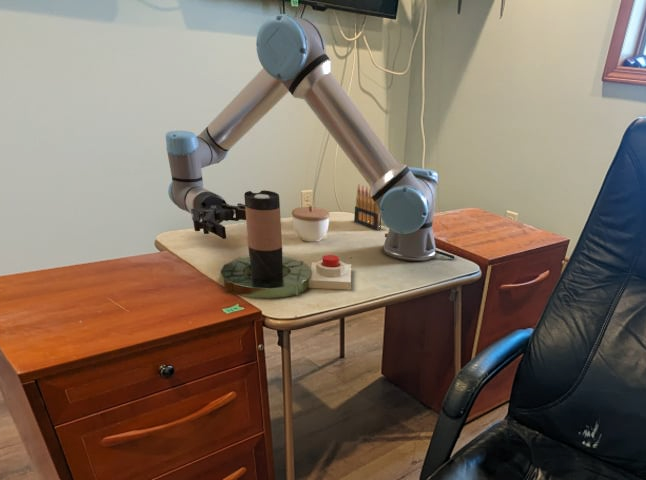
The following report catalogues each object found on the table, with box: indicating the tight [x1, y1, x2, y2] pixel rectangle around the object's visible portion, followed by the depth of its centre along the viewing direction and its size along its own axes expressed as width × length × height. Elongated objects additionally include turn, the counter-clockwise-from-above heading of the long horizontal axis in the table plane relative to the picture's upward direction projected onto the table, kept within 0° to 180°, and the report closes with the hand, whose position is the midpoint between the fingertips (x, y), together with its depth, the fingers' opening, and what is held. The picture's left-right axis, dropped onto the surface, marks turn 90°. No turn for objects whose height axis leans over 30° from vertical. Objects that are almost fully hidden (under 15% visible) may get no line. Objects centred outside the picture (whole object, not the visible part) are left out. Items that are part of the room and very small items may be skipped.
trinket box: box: [291, 205, 330, 243], centre depth 151 cm, size 11×11×9 cm
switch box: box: [308, 259, 352, 291], centre depth 128 cm, size 10×12×4 cm
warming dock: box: [219, 255, 312, 300], centre depth 124 cm, size 21×21×2 cm
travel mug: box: [243, 190, 284, 280], centre depth 119 cm, size 8×8×20 cm
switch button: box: [321, 254, 340, 268], centre depth 126 cm, size 4×4×2 cm
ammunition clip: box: [353, 183, 382, 231], centre depth 166 cm, size 11×2×12 cm, turn 49°
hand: (251, 228), depth 122 cm, fingers open, 13 cm apart
